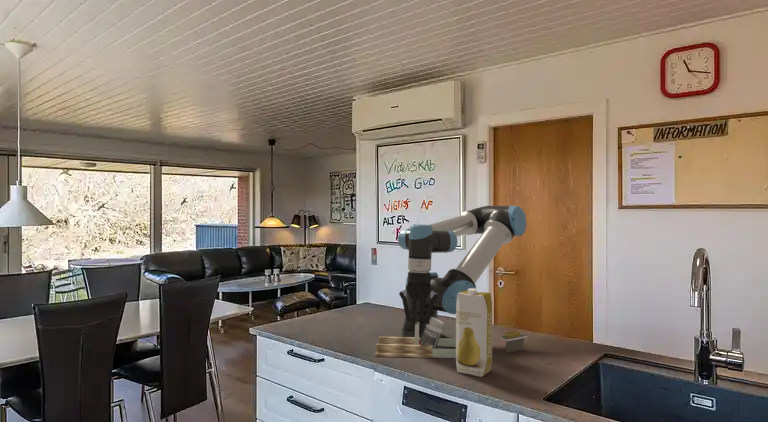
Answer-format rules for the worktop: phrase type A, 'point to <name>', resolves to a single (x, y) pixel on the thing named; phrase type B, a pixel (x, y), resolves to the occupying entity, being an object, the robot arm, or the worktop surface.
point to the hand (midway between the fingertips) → (416, 343)
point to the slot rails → (402, 348)
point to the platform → (514, 341)
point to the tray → (445, 352)
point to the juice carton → (474, 332)
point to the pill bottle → (431, 333)
